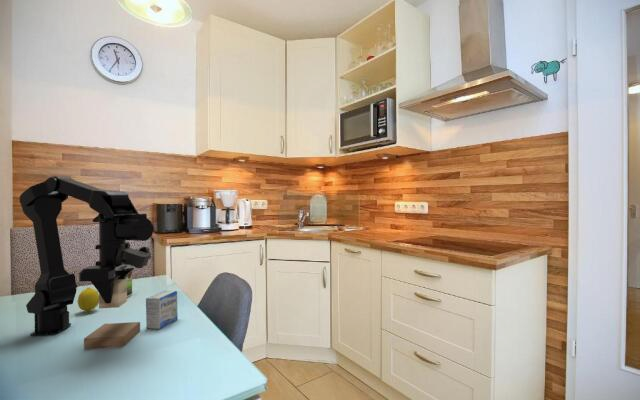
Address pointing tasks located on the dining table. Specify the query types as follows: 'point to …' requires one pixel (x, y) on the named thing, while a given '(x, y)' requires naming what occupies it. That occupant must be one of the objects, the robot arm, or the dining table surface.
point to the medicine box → (161, 309)
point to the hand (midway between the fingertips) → (113, 300)
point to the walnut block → (112, 335)
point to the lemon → (88, 299)
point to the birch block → (116, 295)
